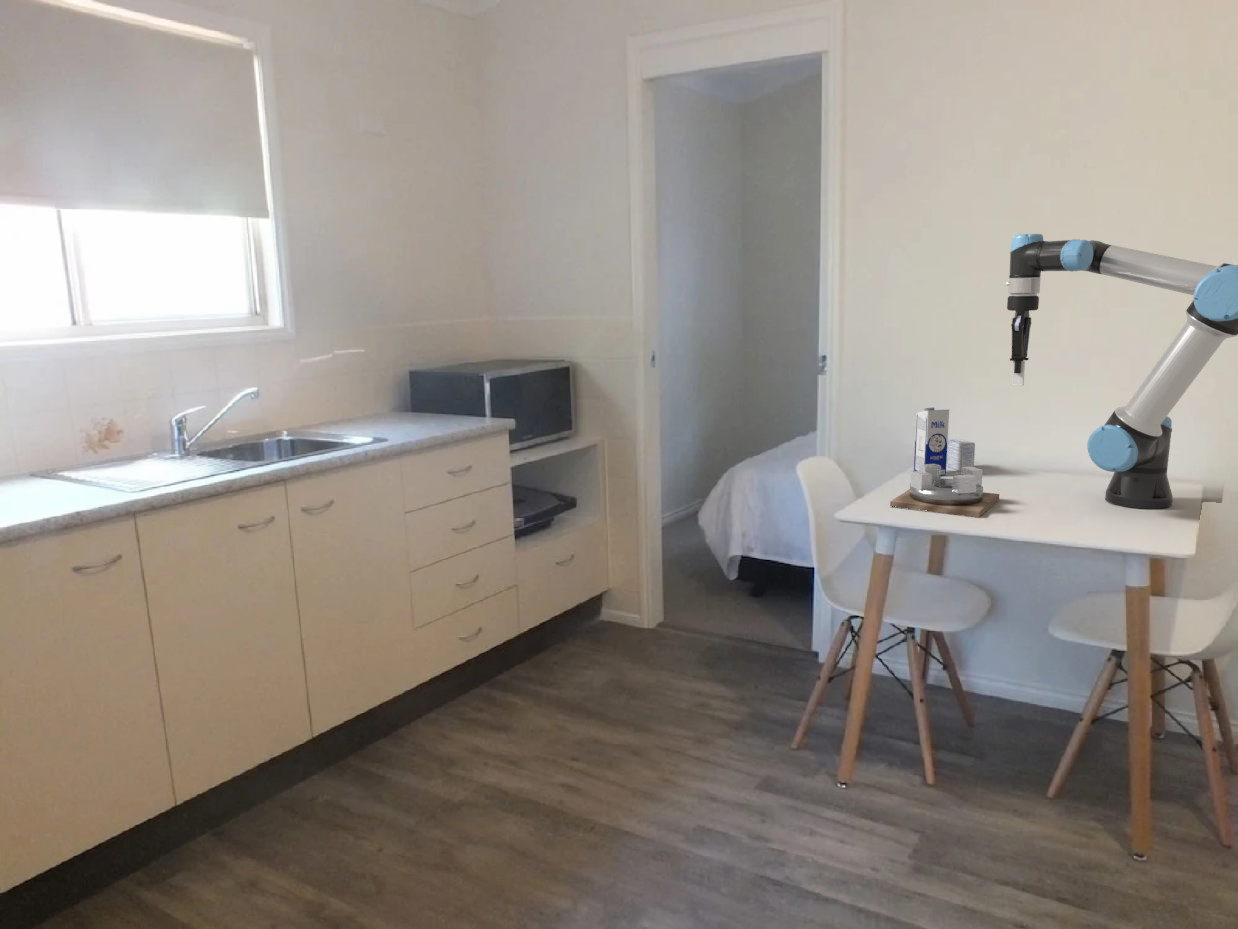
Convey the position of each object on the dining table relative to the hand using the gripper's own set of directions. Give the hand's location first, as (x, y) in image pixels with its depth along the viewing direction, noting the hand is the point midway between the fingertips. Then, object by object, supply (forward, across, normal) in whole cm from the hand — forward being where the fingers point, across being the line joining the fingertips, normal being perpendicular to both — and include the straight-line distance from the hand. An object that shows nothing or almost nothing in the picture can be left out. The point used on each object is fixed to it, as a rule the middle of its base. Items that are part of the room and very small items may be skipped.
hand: (1017, 385), depth 247 cm
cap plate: (+29, +20, -12) cm, 38 cm away
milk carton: (+30, -15, -26) cm, 42 cm away
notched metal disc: (+28, +20, -12) cm, 36 cm away
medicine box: (+30, -27, -20) cm, 45 cm away
